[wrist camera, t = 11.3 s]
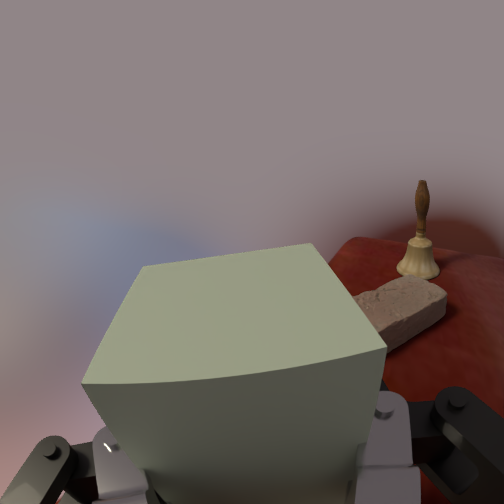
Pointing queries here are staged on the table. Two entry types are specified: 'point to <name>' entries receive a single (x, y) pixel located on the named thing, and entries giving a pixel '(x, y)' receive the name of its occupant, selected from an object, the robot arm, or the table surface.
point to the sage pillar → (240, 378)
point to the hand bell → (420, 242)
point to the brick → (402, 308)
